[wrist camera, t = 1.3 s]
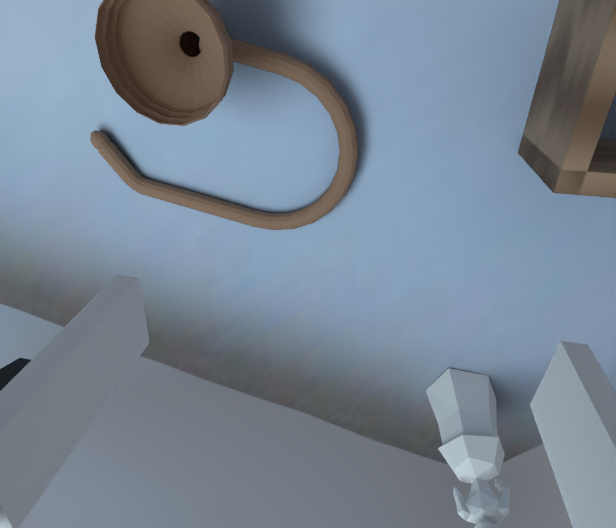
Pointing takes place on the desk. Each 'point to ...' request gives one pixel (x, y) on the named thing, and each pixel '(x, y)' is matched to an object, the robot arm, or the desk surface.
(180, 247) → the desk surface
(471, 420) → the figurine
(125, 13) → the brown curved horn
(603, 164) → the walnut holder
